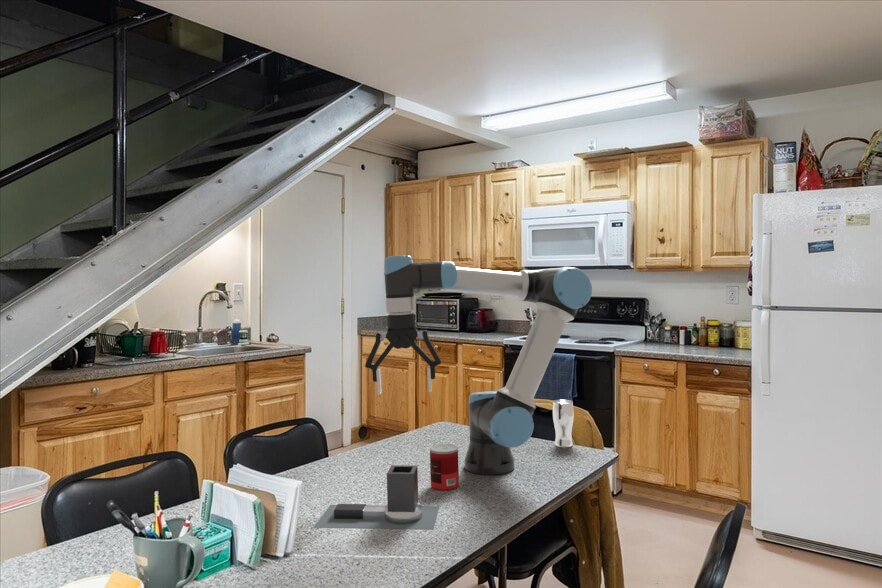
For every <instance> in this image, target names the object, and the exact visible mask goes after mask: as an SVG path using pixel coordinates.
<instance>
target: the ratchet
mask: <svg viewBox="0 0 882 588" xmlns="http://www.w3.org/2000/svg"><path fill="white" fill-rule="evenodd" d="M336 505H337V506H335V508H334V509H333V510H332V518H334V519H385V520H386V521H387V522H389V523H393V524H410V523H414V522H417V521H419V520H420V519H421V518H422V506H423V505H422V504H421V503H420V502H419V501H418V504H417V507H416V510H415V512H388V503H387V504H386V505H384V506H385V507H381V506H382V505H381V506H366V505H367V503H337V504H336Z"/></svg>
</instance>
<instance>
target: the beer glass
mask: <svg viewBox="0 0 882 588" xmlns="http://www.w3.org/2000/svg"><path fill="white" fill-rule="evenodd" d="M574 418H575V417H574V403H573V400H571V399H555V400H553V401H552V420H553V425H554V430H555V439H554V446H555V447H557V448H564V449H565V448H572V447H573V445H574V443H573V439H572V437H573V436H572V433H573V432H572V431H573V424H574Z"/></svg>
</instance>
